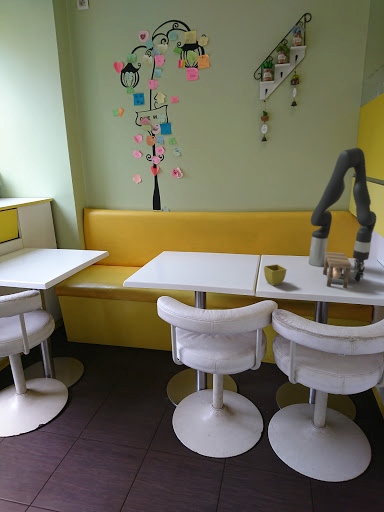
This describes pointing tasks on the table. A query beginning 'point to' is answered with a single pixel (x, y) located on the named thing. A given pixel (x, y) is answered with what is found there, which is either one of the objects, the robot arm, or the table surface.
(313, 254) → the robot arm
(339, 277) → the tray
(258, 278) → the table surface
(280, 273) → the flower pot
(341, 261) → the slatted wooden stool
